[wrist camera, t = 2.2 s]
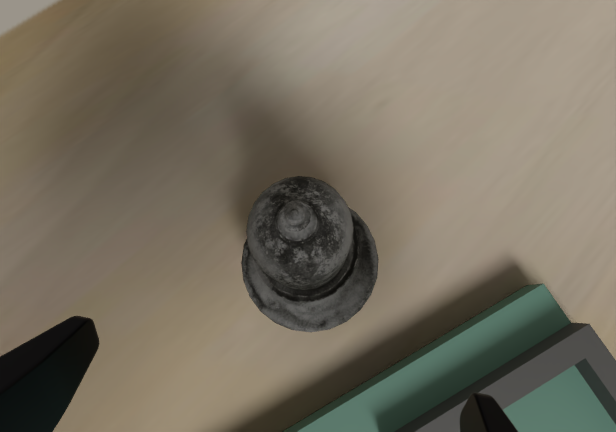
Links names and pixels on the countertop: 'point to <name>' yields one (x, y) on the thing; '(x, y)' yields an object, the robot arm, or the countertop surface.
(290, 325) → the weathered stone pawn
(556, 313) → the socket board
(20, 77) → the countertop surface
